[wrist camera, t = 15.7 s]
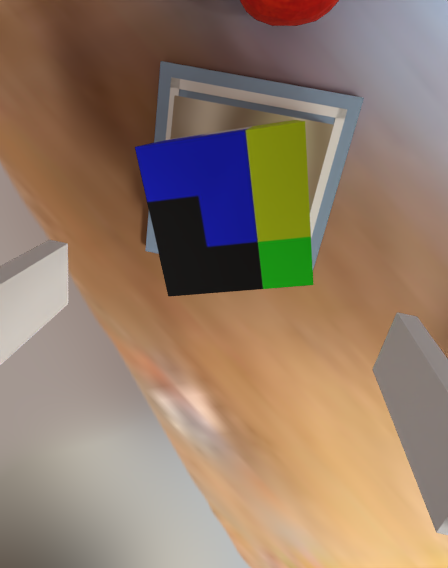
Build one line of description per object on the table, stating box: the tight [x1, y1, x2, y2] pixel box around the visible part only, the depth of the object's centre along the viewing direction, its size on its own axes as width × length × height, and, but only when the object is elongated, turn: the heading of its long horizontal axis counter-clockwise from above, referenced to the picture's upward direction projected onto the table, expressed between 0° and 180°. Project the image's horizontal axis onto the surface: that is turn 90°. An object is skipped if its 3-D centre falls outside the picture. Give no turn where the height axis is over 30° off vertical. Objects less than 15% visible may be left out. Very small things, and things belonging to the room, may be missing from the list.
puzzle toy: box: [135, 120, 313, 296], centre depth 28 cm, size 10×10×10 cm
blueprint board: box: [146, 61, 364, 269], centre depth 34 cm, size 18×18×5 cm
